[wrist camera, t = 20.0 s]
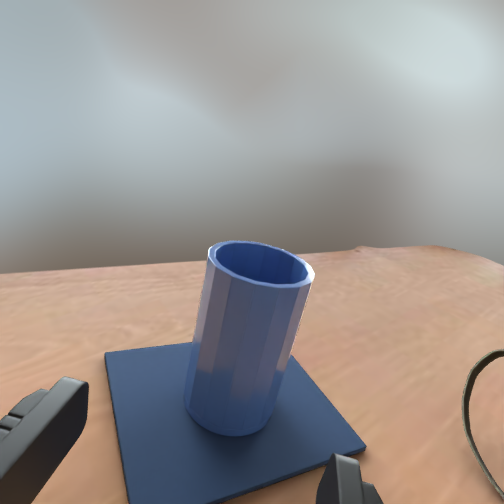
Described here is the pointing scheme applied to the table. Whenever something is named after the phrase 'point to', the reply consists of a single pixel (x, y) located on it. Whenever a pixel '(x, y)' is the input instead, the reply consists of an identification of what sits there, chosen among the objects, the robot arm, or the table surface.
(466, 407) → the binoculars
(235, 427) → the blue tumbler
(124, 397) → the blue mat
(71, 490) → the table surface
